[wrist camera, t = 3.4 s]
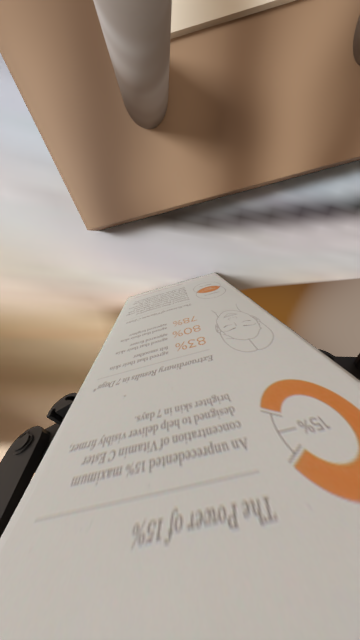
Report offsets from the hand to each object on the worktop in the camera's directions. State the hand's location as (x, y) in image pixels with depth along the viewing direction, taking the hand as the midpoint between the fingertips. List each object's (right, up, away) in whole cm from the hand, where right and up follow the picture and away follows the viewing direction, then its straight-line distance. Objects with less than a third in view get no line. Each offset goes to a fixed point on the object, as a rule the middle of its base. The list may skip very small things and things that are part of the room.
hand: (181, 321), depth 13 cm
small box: (0, +1, +1) cm, 1 cm away
